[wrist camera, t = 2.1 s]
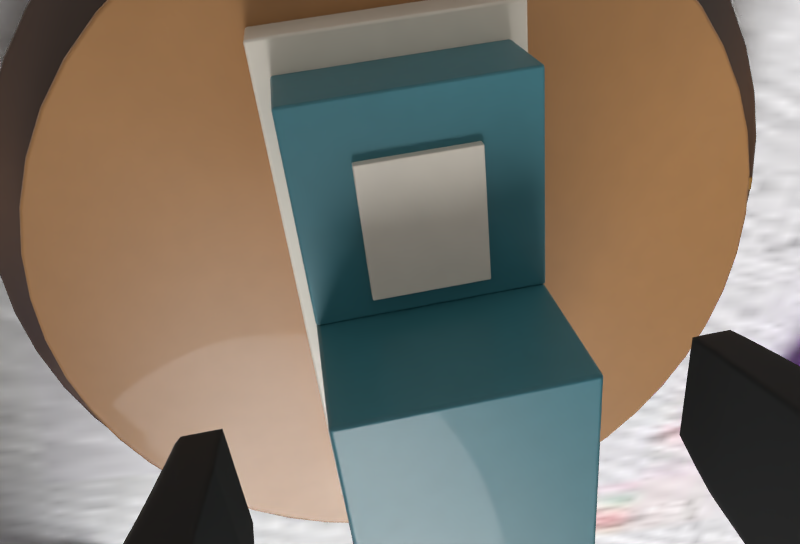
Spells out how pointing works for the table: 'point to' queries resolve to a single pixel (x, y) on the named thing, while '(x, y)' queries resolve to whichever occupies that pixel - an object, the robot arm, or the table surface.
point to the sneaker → (386, 243)
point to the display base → (36, 69)
